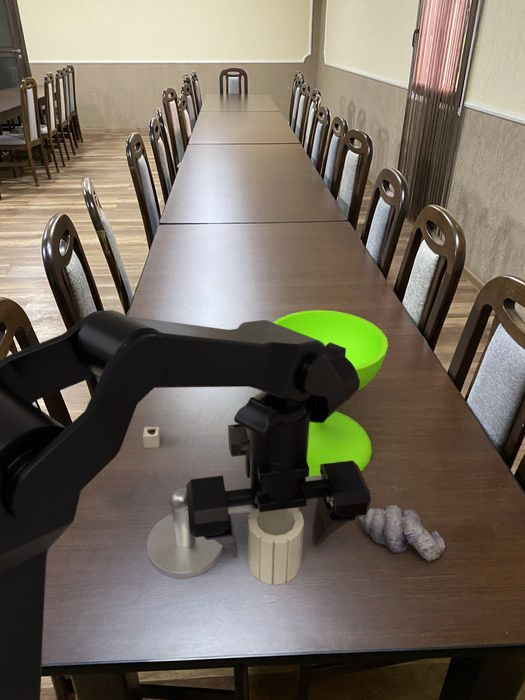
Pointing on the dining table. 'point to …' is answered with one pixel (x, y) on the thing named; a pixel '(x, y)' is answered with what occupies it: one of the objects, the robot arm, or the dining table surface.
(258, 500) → the robot arm
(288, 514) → the beige fluted tube
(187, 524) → the stand
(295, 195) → the dining table surface
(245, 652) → the dining table surface
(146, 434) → the cream cube
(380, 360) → the wineglass
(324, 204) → the dining table surface
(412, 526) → the seashell
